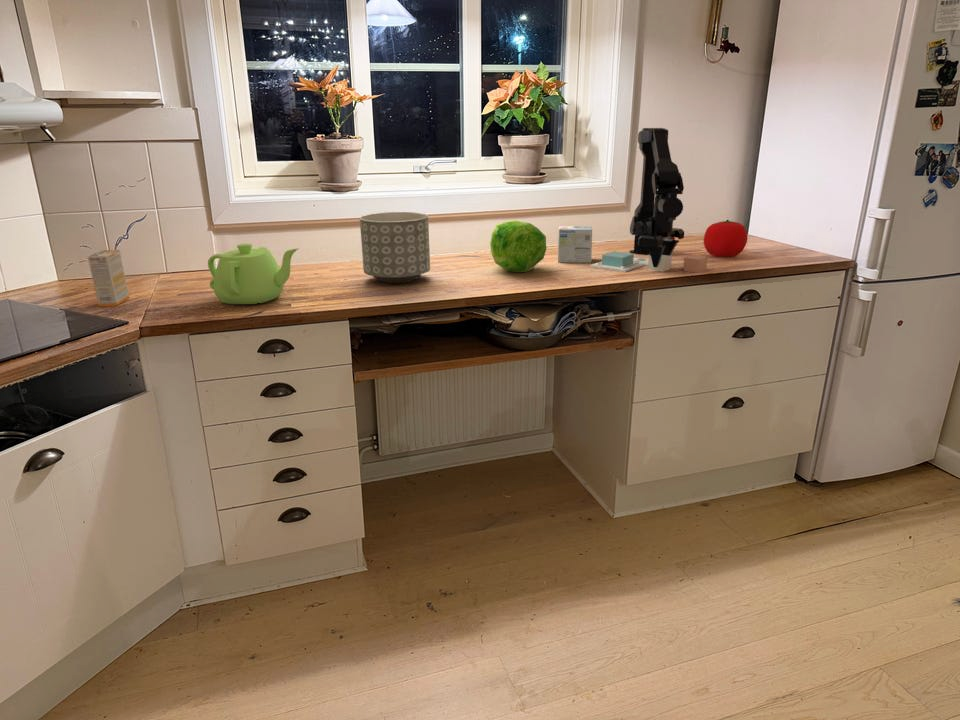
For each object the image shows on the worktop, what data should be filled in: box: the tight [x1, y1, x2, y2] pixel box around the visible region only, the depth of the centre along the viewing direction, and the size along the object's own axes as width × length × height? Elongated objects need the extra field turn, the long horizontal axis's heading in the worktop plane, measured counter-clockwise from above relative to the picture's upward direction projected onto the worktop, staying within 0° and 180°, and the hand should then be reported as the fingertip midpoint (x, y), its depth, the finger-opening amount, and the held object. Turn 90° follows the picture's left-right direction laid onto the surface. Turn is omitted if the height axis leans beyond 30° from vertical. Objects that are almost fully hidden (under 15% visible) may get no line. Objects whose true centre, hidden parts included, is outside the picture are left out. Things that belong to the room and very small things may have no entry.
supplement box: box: [87, 249, 130, 307], centre depth 174 cm, size 8×5×13 cm, turn 5°
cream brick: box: [647, 255, 673, 272], centre depth 204 cm, size 5×5×4 cm
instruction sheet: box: [633, 257, 649, 266], centre depth 216 cm, size 7×10×1 cm
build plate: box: [589, 251, 645, 273], centre depth 209 cm, size 12×12×4 cm
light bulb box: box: [557, 225, 593, 264], centre depth 216 cm, size 11×7×11 cm, turn 84°
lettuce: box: [490, 220, 548, 273], centre depth 204 cm, size 17×20×15 cm
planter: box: [359, 211, 431, 284], centre depth 193 cm, size 19×19×18 cm
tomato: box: [703, 219, 748, 258], centre depth 220 cm, size 13×14×12 cm
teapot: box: [207, 243, 300, 305], centre depth 176 cm, size 19×20×14 cm
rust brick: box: [682, 254, 708, 274], centre depth 202 cm, size 5×5×4 cm
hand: (659, 265), depth 205 cm, fingers open, 5 cm apart
